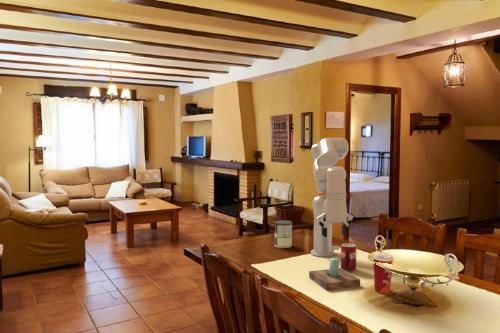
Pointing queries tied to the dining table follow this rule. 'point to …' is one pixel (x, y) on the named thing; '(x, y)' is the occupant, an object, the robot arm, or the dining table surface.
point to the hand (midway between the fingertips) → (334, 235)
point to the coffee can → (283, 234)
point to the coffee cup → (382, 273)
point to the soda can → (348, 257)
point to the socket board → (334, 279)
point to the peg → (334, 267)
